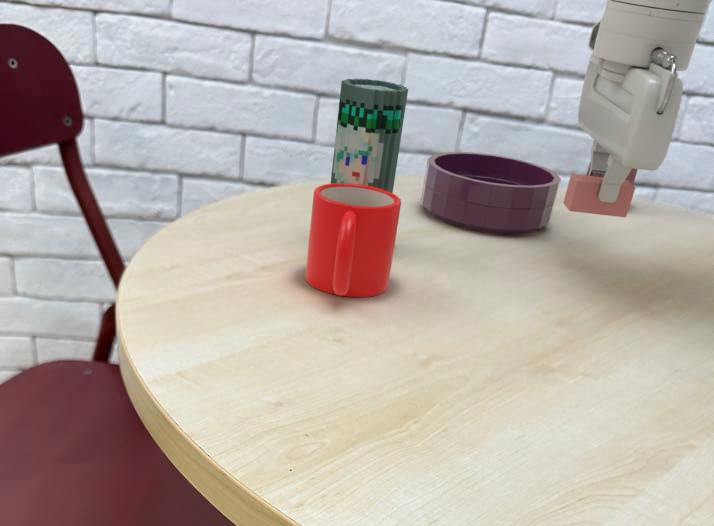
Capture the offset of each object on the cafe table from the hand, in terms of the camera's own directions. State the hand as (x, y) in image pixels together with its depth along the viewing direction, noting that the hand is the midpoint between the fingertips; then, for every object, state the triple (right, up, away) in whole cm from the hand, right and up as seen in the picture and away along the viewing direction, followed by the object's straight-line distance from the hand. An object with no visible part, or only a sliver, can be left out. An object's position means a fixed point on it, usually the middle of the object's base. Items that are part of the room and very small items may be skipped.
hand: (599, 194), depth 88 cm
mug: (-27, -13, -9) cm, 31 cm away
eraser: (0, -1, +1) cm, 2 cm away
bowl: (-9, +4, +15) cm, 18 cm away
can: (-25, -5, +2) cm, 26 cm away
